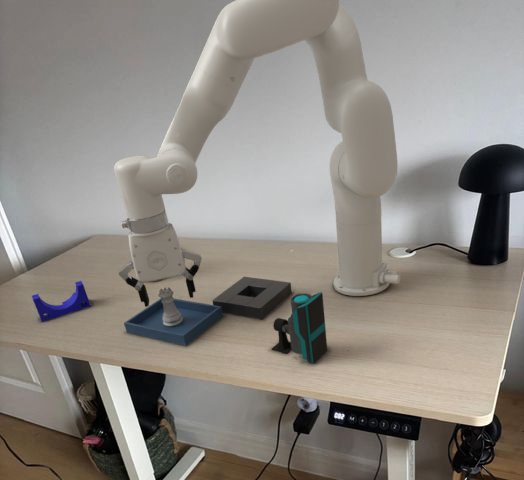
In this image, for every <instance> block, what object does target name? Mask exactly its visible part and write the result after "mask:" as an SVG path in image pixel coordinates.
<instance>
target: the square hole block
mask: <svg viewBox="0 0 524 480" xmlns="http://www.w3.org/2000/svg"><path fill="white" fill-rule="evenodd" d="M291 295H293V291H292V283H291V282H290V281H280V280H274V279H267V278H266V279H265V278H259V277H258V278H257V277H249V276H242V278H240V279H239V280H237V281H236V282H235V283H234V284H232V285H231V286H229V287H228V288H227V289H225V290H224V291H222V293H220V294H219V295H217V296H216V297H214V298H213V299H212V300H211V302H212V305H215V306H221V307H222V312H223V314H229V315H235V316H239V317H245V318H250V319H256V320H257V319H258V320H264V319H265V318H266V317H267V316H269V314H270V313H272V312H273V311H274V310H275V309H277V308H278V306H280V305H281V304H282V303H283V302H284V301H286V299H287V298H289V297H290V296H291Z"/></svg>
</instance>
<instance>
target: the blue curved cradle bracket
mask: <svg viewBox="0 0 524 480" xmlns="http://www.w3.org/2000/svg"><path fill="white" fill-rule="evenodd" d="M74 283H75V292H73V293H72V294H71V296H70V297H69V298H68V299H65V301H62V302H61V303H62V304H57V305H55V304H51V303H48V302H46V301H44V300H43V299H42V298H41V296H40V294H39V293H36V294H33V295H31V298H32V301H33V304H34V305H35V309H36V311H37V313H38V315H39V316H38V317H39V318H40V320H41V323H43V322H46V321H50V320H53V319H56V318H59V317H62V316H65V315H68V314H71V313H74V312H79V311H80V310H84V309H86V308H90V307H91V306H92V305H91V303H90V300H89V297H88V294H87V291H86V288H85V286H84V283H83V282H82V280H79V281H75V282H74Z"/></svg>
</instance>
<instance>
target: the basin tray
mask: <svg viewBox="0 0 524 480" xmlns="http://www.w3.org/2000/svg"><path fill="white" fill-rule="evenodd" d="M161 301H162V299H161V298H159V299H157V300H156V301H155V302H153V303H151V304H149V306H148V307H145V308H144V309H143V310H141V311H140V312H138V313H136V314H135V315H134V316H132V317H130V318H128V320H126V321H125V322H123V325H124V328H125V332H126V333H127V334H131V335H135V336H139V337H143V338H149V339H153V340H158V341H162V342H165V343H171V344H174V345H180V346H184V347H187V346H189V345H190V344H191V343H192V342H193V341H195V340H196V339H197V338H198V337H200V335H202V334H203V333H204V332H206V331H207V330H208V329H209V328H211V327H212V326H213V325H214V324H216V323H217V322H218V321H220V320H221V319H222V318H223V317H224V313H223V312H222V307H221V306H215V305H213V304H208V303H203V302H197V301H192V300H191V301H190V300H186V299H179V298H174V304H175V306H176V308H177V310H179V312H180V313H181V314H182V316H181V317H182V318H183V320H182V322H181V324H179V325H177V326H174V327H167V326H165V325H164V324H163V313H164V307H163V303H162V302H161Z"/></svg>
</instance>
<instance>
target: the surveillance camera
mask: <svg viewBox="0 0 524 480" xmlns="http://www.w3.org/2000/svg"><path fill="white" fill-rule="evenodd" d="M289 300H290V309H291V314H290V316H289V317H288V318H287V319H285V318H280V317H278V318H276V319H274V321H273V325H272V326H273V330H274V331H276V332H277V334H278V343H276V344H275V345H274V346H273V347H272V348H271V351H274V352H277V353H281V354H284V355H288V354H289V353H290V352H292V353H294V354H298V355H301V356H302V360H304V361H306V362H307V363H309V364H316V363H317V362H318V360H320V359H321V357H323V356H324V355H325V354H326V353H327V352H328V342H327V341H328V339H327V329H326V319H325V306H324V295H323V292H322V291H319V292H317V293H315V294H313V295H311V294H310V293H297V294H295V295H293V296H291V297H290V299H289ZM288 335H289V339H290V341H289V339H288Z"/></svg>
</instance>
